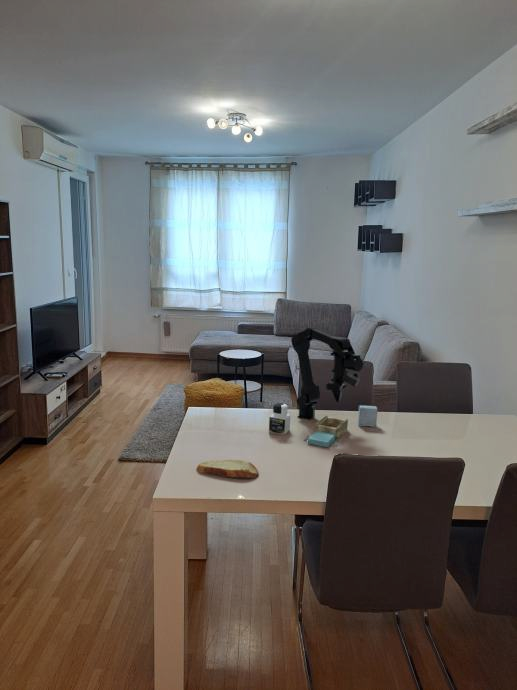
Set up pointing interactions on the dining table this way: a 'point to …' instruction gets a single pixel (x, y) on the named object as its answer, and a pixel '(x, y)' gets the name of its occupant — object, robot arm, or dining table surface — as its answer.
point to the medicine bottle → (279, 419)
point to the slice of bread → (229, 469)
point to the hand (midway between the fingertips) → (337, 401)
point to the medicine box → (367, 416)
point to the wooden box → (332, 426)
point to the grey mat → (330, 444)
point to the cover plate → (321, 438)
